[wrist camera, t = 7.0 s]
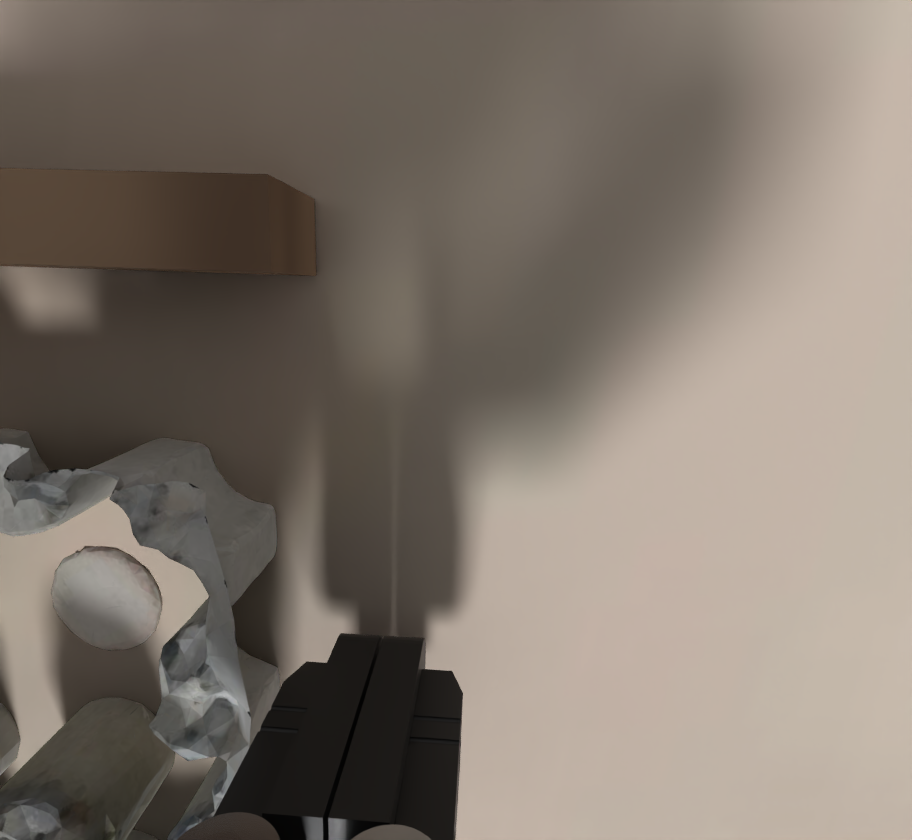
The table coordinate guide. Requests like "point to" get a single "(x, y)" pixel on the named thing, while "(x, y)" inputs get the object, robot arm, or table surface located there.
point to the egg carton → (140, 639)
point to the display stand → (155, 222)
